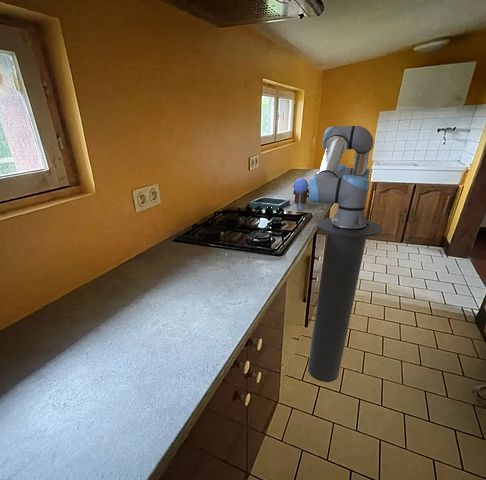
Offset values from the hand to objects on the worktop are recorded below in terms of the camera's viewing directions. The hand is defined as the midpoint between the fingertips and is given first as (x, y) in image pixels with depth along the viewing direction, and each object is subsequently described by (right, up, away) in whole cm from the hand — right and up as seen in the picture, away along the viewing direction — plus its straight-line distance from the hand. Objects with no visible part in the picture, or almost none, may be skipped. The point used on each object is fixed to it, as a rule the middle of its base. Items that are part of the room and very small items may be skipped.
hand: (300, 194), depth 194 cm
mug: (+3, -5, +4) cm, 7 cm away
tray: (-20, -8, -1) cm, 22 cm away
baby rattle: (-5, -10, -15) cm, 18 cm away
